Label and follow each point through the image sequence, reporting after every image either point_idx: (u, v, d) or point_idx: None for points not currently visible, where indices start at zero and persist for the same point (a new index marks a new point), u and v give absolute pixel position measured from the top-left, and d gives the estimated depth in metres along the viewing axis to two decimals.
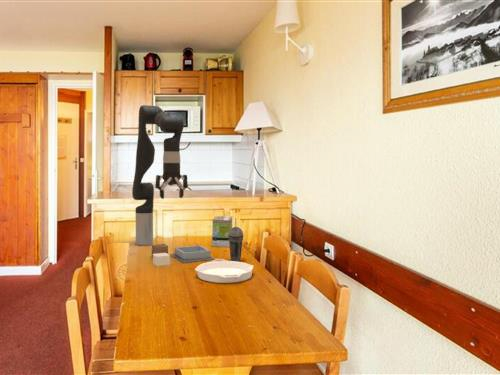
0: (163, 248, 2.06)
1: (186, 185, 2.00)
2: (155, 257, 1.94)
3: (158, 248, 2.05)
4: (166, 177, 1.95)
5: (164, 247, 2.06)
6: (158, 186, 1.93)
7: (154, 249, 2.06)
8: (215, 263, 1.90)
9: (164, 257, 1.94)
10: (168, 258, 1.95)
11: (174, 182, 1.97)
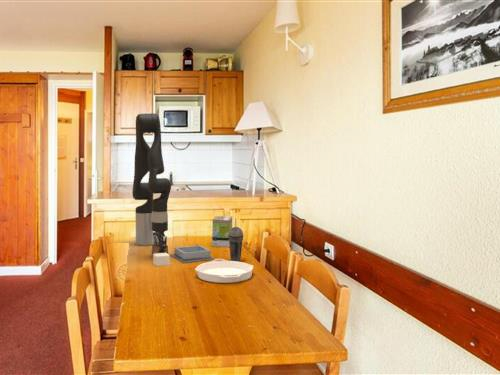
0: None
1: None
2: (155, 257, 1.94)
3: (158, 248, 2.05)
4: None
5: None
6: None
7: (154, 249, 2.06)
8: (215, 263, 1.90)
9: (164, 257, 1.94)
10: (168, 258, 1.95)
11: None
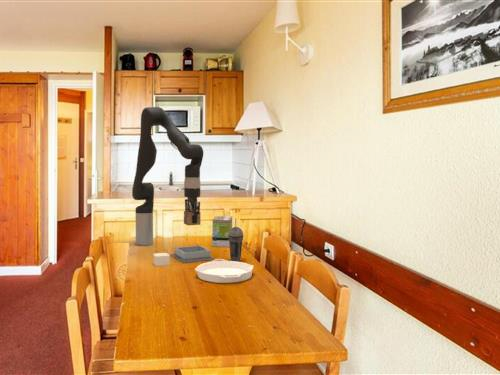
0: None
1: None
2: (155, 257, 1.94)
3: (191, 214, 2.05)
4: None
5: None
6: None
7: (187, 215, 2.06)
8: (215, 263, 1.90)
9: (163, 257, 1.94)
10: (168, 258, 1.95)
11: None
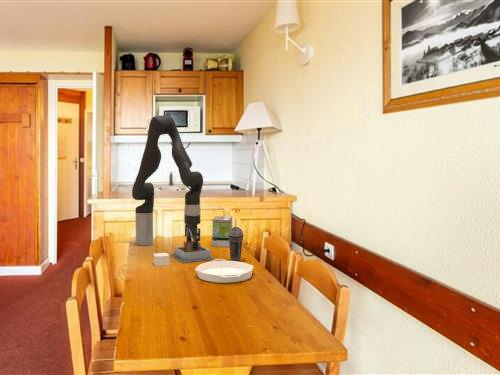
0: None
1: None
2: (154, 257, 1.95)
3: (191, 245, 2.07)
4: None
5: None
6: None
7: (187, 246, 2.07)
8: (215, 263, 1.90)
9: (163, 257, 1.94)
10: (167, 258, 1.95)
11: None
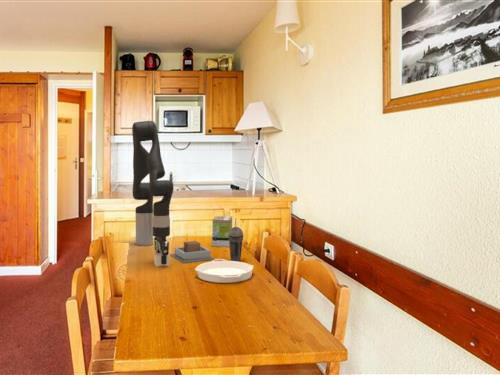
0: (196, 245, 2.08)
1: None
2: (154, 256, 1.95)
3: (191, 245, 2.07)
4: None
5: (197, 244, 2.08)
6: None
7: (187, 246, 2.07)
8: (215, 263, 1.90)
9: None
10: (167, 258, 1.94)
11: None
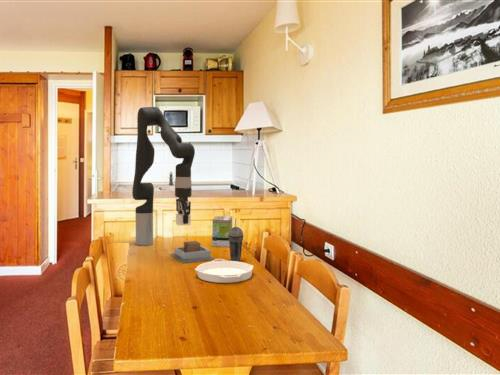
0: (196, 245, 2.08)
1: None
2: (176, 216, 2.03)
3: (191, 245, 2.07)
4: None
5: (197, 244, 2.08)
6: None
7: (187, 246, 2.07)
8: (215, 263, 1.90)
9: None
10: (188, 218, 2.03)
11: None
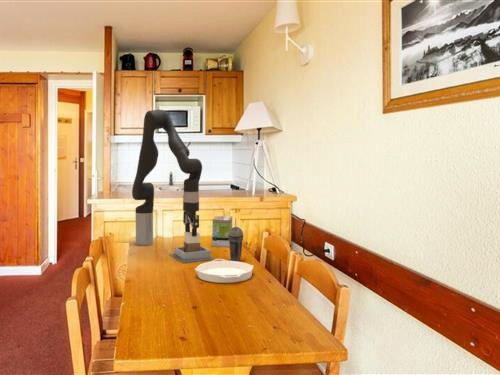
0: (196, 245, 2.08)
1: None
2: (186, 235, 2.08)
3: (191, 245, 2.07)
4: None
5: (197, 244, 2.08)
6: None
7: (187, 246, 2.07)
8: (215, 263, 1.90)
9: None
10: (198, 236, 2.08)
11: None
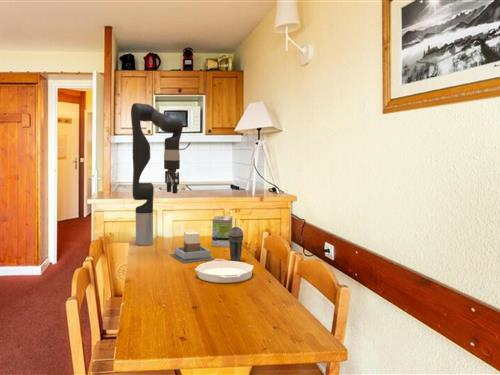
0: (196, 245, 2.08)
1: None
2: (185, 235, 2.08)
3: (191, 245, 2.07)
4: None
5: (197, 244, 2.08)
6: None
7: (187, 246, 2.07)
8: (215, 263, 1.90)
9: (193, 235, 2.07)
10: (197, 236, 2.08)
11: None
